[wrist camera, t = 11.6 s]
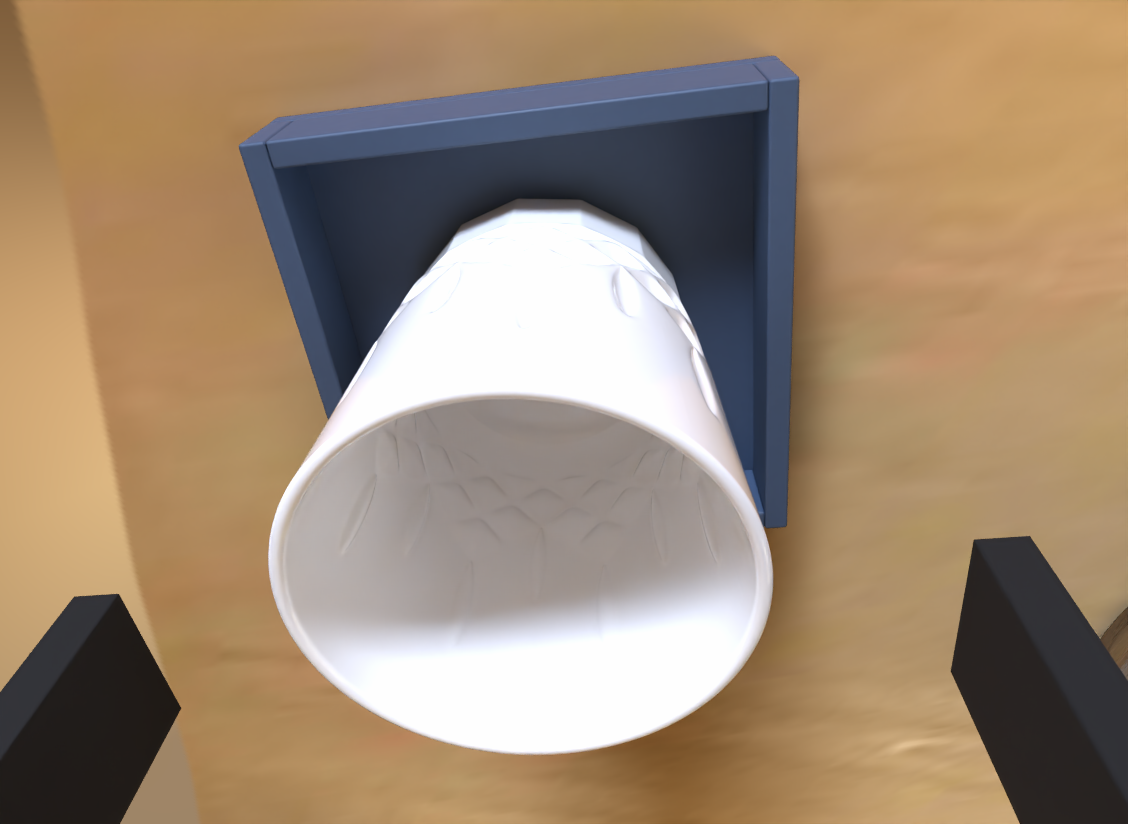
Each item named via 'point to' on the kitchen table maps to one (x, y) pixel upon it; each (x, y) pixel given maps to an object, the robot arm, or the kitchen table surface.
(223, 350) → the kitchen table surface
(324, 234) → the tray
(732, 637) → the white cup
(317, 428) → the kitchen table surface
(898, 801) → the kitchen table surface
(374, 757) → the kitchen table surface
